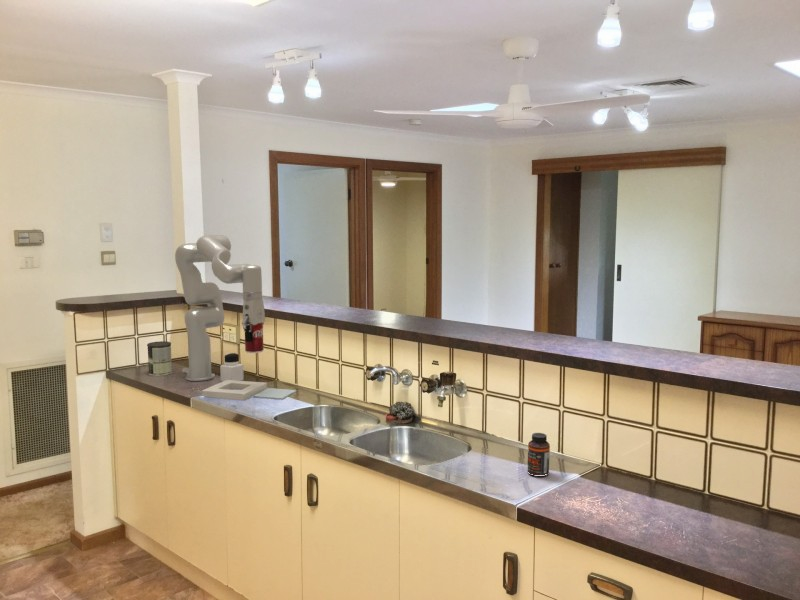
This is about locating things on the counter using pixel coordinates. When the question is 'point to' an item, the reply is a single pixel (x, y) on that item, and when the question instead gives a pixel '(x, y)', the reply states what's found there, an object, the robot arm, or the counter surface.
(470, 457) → the counter surface
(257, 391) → the collar dock
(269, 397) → the mat
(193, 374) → the robot arm
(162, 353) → the coffee can
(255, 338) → the soda can
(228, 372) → the medicine bottle
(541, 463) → the supplement bottle
